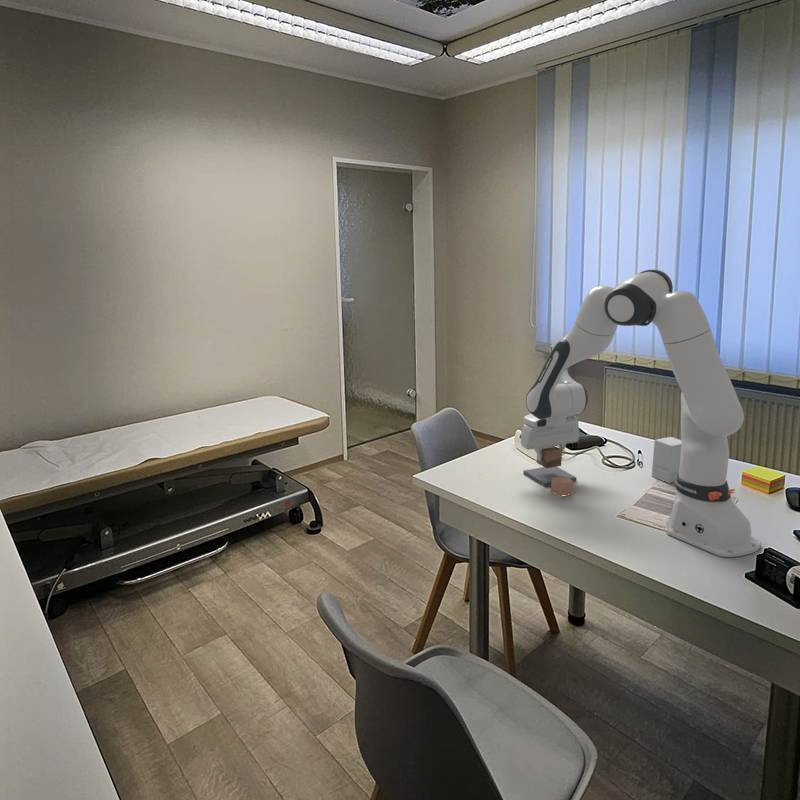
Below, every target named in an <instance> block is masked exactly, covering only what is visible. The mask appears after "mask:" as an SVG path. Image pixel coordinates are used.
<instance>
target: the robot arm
mask: <svg viewBox="0 0 800 800" xmlns="http://www.w3.org/2000/svg"><path fill="white" fill-rule="evenodd" d="M673 290H674V286H673V282H672V279H671V277H670V276H669V275H668V274H667V273H665V272H664V271H662V270H659V269H645V270H643V271H640V272H639V273H637V274H635V275H631V276H629V277H627V278H626V279H624V280H623V281H621V282H620V283H618V284H617V285H616V286H614V287H612V286H608V285H598V286H595V287H593V288H591V289H590V290H589V291H588V292H587V295H586V297H585V298H584V299H583V301H582V303H581V306H580V308H579V310H578V312H577V314H576V317H575V320H574V322H573V325H572V326H571V328H570V329H569V331H568V332H567V334H565V335H564V337H562V339H560V340H559V341H557V342H556V344H555V345H554V346H553V348H552V350H551V351H550V353H549V355H548V358H547V359H546V361H545V363H544V365H543V366H542V369H541V371H540V373H539V375H538V377H537V379H536V381H534V384H533V385H531V387H530V388H529V390H528V392H527V393H526V399H525V406H526V409H527V411H528V412H529V414H527V415H524V417H523V419H522V420H523V423H524V425H522V428H521V432H520V433H521V435H520V444H521V446H522V448H524V449H526V450H534V452H535V453H536V460H537V459H538V460H544V455H543V454H541V452H540V451H541V450H542V447H549V446H558V448H560V449H562V453H563V452H564V450H565V449H566V446H567V444H574V443H577V442H579V439H580V426H579V421H580V419H579V416H578V415H576V414H581V413H583V412H584V411H585V409H586V408H587V406H588V403H589V402H588V401H589V393H588V390H587V389H586V388H585V386H584V385H583V384H581V383H579V382H577V381H575V380H574V379H573V378H572V377H571V376H570V374H569V371H568V369H569V368H570V367H571V366H573V365H575V364H577V363H579V362H582V361H585V360H587V359H591V358H594V357H596V356H599V355H601V354H603V353H604V352H605V351H606V350H607V348H608V347H609V346H610V344H611V343H612V342H613V339H614V337H615V334H616V331H617V329H618V326H625V327H630V326H641V327H647V326H648V325H650V324H651V323H652V324H654V325H655V326H656V328H657V330H658V332H659V335H660V337H661V340H662V344H663V346H664V351H665V354H666V355H667V358H668V361H669V364H670V367H671V370H672V373H673V375H674V377H675V379H676V381H677V383H678V386H679V389H680V390H681V394H680V434H681V435H680V438H681V439H680V440H682V446H681V458H680V468H679V474H678V475H677V479H676V482H675V489H676V493H675V497H674V502H673V506H672V509H671V512H670V515H669V517H668V519H667V521H666V525H667V532H666V534H667V535H668V536H671V537H673V538H676V539H678V540H681V541H683V542H686V543H688V544H690V545H693V546H694V547H696V548H700V549H701V550H704V551H707V552H708V553H711V554H714V555H715V556H719V557H725V558H732V557H733V558H734V557H741V556H746V555H750V554H753V553H755V552H757V551H759V550H760V548H761V541H759V540H758V539H756V538H754V537H753V536H752V526H751V522H750V520H749V519H748V518H747V517H746V515H745V514H744V513H743V512H742V511H741V510H740V508H739V507H738V506H737V504H736V503H735V502H734V501H733V500H732V498H731V497H732V496H731V494H735V493H736V492H735V491H736V488H732V489H730V487H729V483H728V481H727V476H728V468H729V467H728V466H729V459H730V449H729V441H728V437H729V436H732V435H733V434H735V433H736V432H738V431H739V430H740V429H741V427H742V425H743V423H744V419H745V414H744V410H743V407H742V405H741V402H740V400H739V398H738V397H739V396H738V394H737V393H736V390H735V388H734V385H733V383H732V379H731V378H730V376H729V373H728V371H727V370H726V368H725V365H724V363H723V361H722V359H721V356H720V353H719V351H718V347H717V344H716V342H715V339H714V336H713V332H712V329H711V326H710V324H709V321H708V318H707V316H706V313H705V311H704V309H703V308H702V306H701V303H700V302H699V300H698V299H697V297H696V295H695V294H693V293H692V292H690V291H686V290H677V291H673Z"/></svg>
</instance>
